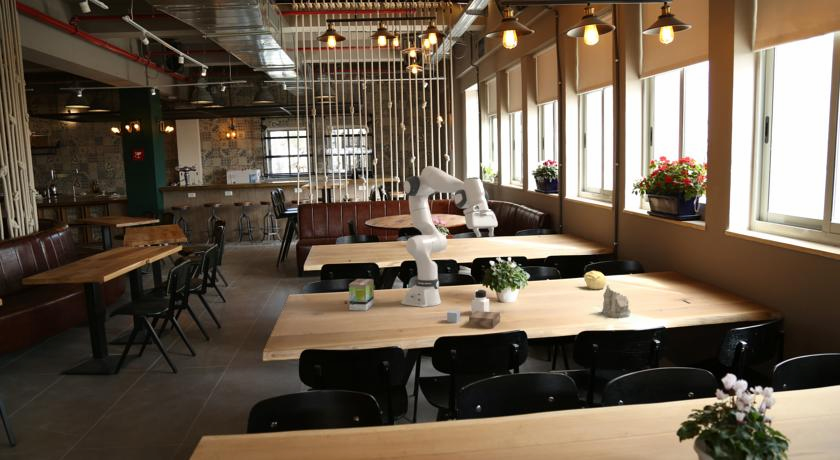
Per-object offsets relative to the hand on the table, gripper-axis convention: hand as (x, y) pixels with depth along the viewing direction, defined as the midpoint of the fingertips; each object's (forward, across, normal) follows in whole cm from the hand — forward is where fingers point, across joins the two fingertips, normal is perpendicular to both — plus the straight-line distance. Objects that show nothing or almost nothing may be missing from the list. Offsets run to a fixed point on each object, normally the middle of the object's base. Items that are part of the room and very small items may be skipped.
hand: (485, 236), depth 292 cm
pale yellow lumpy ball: (+33, -105, -8) cm, 111 cm away
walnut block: (+40, -4, -16) cm, 44 cm away
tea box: (+18, +12, -85) cm, 88 cm away
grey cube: (+36, +1, -30) cm, 47 cm away
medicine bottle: (+34, -19, -29) cm, 49 cm away
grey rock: (+49, -62, +25) cm, 83 cm away
